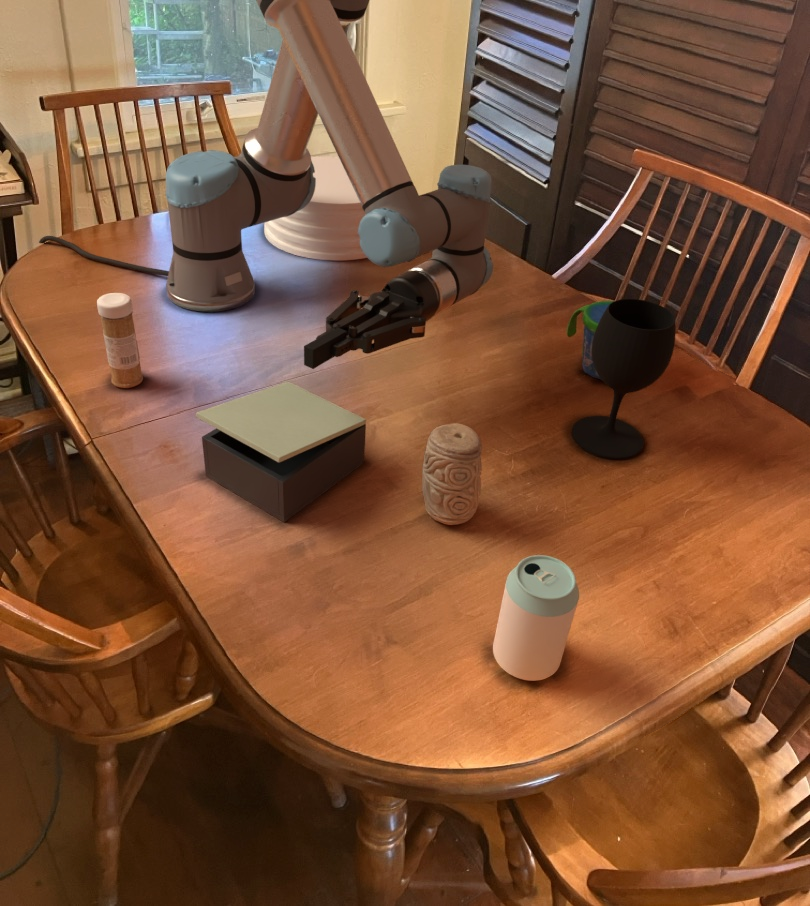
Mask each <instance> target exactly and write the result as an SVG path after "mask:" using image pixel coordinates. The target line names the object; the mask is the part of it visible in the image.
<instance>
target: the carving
mask: <svg viewBox="0 0 810 906" xmlns="http://www.w3.org/2000/svg"><path fill="white" fill-rule="evenodd" d="M482 450H483V445H482V441H481V439H480V436H479V435H478V433H477V432H476V431H475V430H474V429H473V428H472V427H470V426H467V425H465V424H462V423H456V422H454V423H453V422H452V423H448V424H442V425H438V426H436V427H435V428H433V429H432V430H431V431H430V434H429V436H428V438H427V444H426V446H425V451H424V456H423V464H422V480H421V483H422V485H421V488H422V490H421V491H422V495H423V501H424V506H425V511H426V513H427V514H428V515H429V517H431V518H432V519H433V520H435V521H436V522H439V523H441V524H444V525H450V526H454V525H460V524H465V523H467V522H468V521H470V520H471V519H472V518H473V517H474V515H475V514H476V512H477V509H478V507H479V503H480V497H481V494H482V477H481V476H482V471H483V465H482V464H483V463H482Z"/></svg>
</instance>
